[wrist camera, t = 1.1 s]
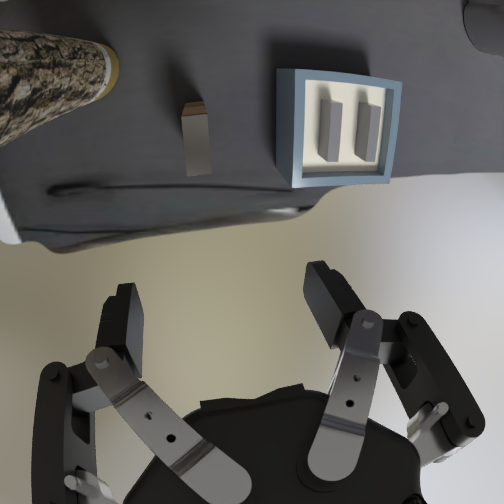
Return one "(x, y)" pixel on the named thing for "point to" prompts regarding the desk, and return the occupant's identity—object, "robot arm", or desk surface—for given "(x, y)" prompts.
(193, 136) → the wooden plank
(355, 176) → the blue open box
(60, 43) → the bark log cylinder
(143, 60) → the desk surface
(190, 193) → the desk surface
